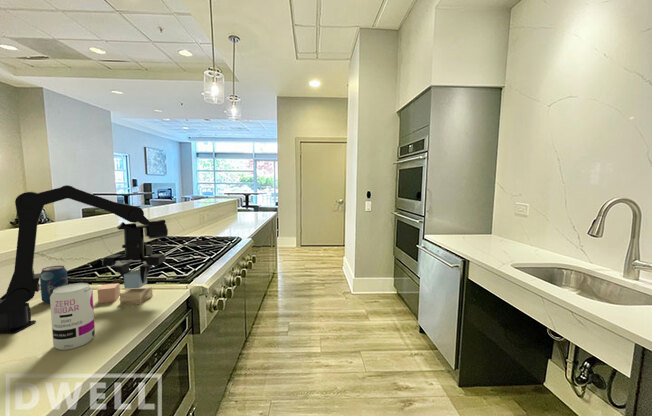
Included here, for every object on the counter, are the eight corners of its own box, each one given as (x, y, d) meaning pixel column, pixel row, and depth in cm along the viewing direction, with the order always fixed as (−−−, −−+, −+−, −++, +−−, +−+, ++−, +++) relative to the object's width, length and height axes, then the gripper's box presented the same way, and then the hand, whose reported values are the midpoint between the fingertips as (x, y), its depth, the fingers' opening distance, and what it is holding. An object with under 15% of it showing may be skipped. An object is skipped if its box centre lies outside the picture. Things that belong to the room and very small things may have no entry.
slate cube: (139, 288, 98) (138, 274, 98) (124, 288, 98) (123, 274, 98) (147, 283, 103) (146, 270, 103) (132, 283, 103) (132, 270, 102)
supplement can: (91, 330, 80) (88, 280, 78) (98, 341, 74) (95, 287, 73) (51, 343, 73) (47, 288, 72) (56, 355, 68) (52, 296, 67)
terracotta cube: (115, 301, 100) (114, 287, 99) (98, 303, 98) (97, 289, 98) (120, 296, 104) (119, 283, 104) (103, 297, 103) (103, 284, 102)
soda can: (51, 305, 96) (49, 271, 95) (36, 303, 97) (33, 269, 96) (73, 297, 103) (71, 265, 102) (59, 295, 104) (56, 264, 103)
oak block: (140, 304, 98) (139, 293, 97) (120, 304, 98) (119, 293, 97) (152, 296, 105) (152, 286, 104) (134, 296, 105) (133, 286, 104)
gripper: (171, 236, 108) (172, 275, 109) (120, 236, 106) (122, 276, 108) (157, 242, 97) (158, 285, 98) (100, 242, 95) (102, 286, 97)
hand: (136, 282), depth 101 cm, fingers closed on slate cube, 5 cm apart
